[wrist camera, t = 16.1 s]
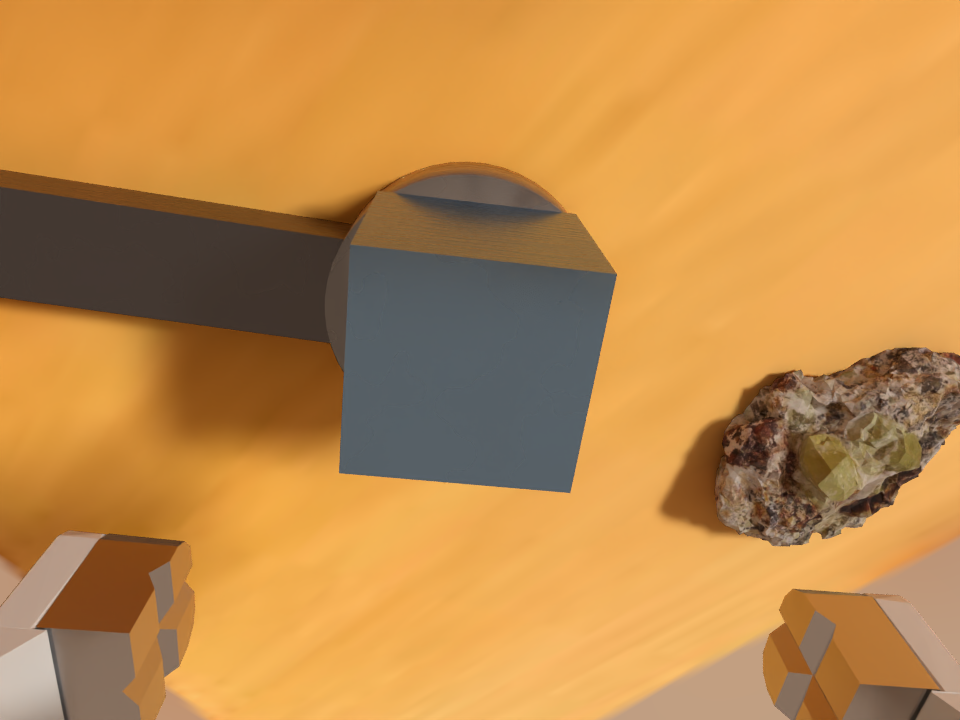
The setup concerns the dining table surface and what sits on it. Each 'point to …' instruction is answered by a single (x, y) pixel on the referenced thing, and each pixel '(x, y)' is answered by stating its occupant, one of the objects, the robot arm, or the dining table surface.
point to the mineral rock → (835, 444)
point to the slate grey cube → (470, 342)
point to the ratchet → (206, 251)
